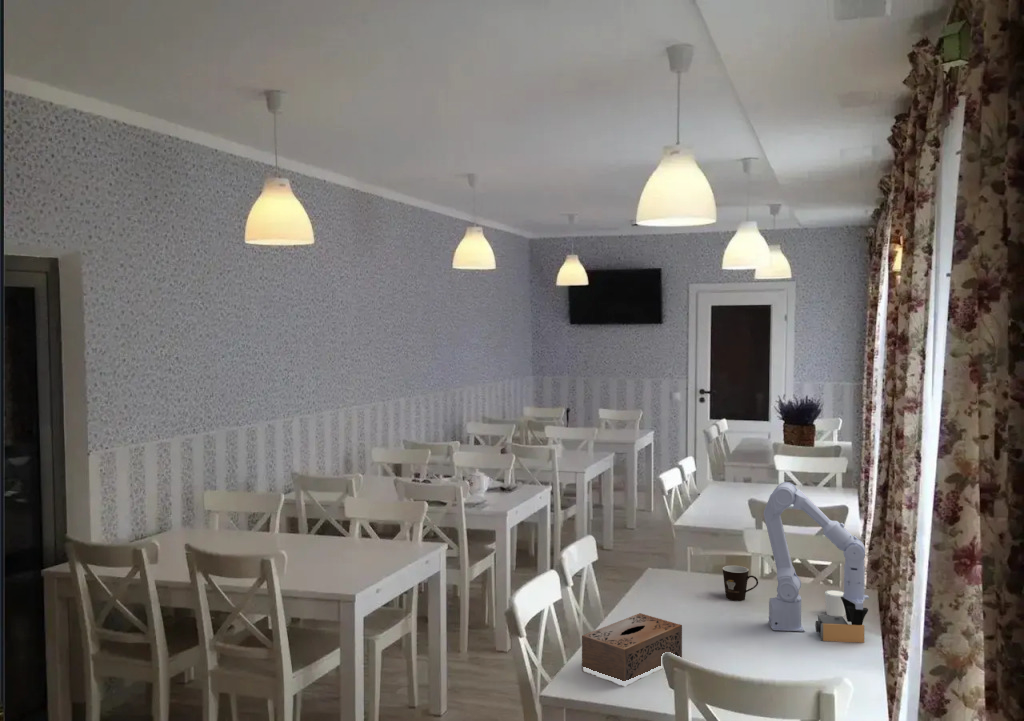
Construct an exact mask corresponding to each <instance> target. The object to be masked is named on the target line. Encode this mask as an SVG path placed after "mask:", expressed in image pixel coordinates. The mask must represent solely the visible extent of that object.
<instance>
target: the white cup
mask: <svg viewBox="0 0 1024 721" xmlns="http://www.w3.org/2000/svg"><path fill="white" fill-rule="evenodd" d="M843 594H844V590H843V591H842V590H838V589H829V590H828V589H827V590H825V591H824V598H825V601H824V602H825V610H826V612H825V613H826V616H842V617H843V618H844V617H846V612H845V608H844V604H843V602H842V600H841V597H843Z"/></svg>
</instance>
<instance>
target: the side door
mask: <svg viewBox="0 0 1024 721" xmlns="http://www.w3.org/2000/svg"><path fill="white" fill-rule="evenodd" d="M820 641H821V642H839V643H840V642H841V643H860V644H861V643H863V644H864V643H865V625H864V624H862V625H852V624H851V623H850V624H848V623H847V624H824V623H821V636H820Z"/></svg>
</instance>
